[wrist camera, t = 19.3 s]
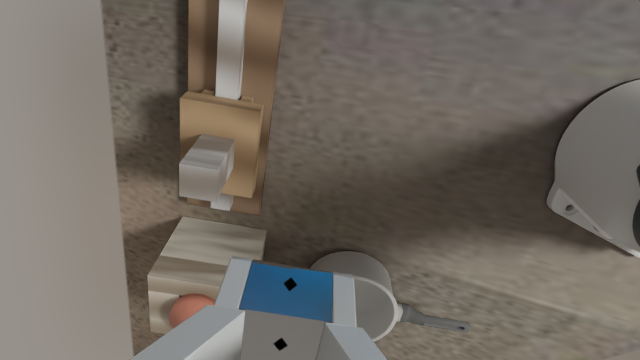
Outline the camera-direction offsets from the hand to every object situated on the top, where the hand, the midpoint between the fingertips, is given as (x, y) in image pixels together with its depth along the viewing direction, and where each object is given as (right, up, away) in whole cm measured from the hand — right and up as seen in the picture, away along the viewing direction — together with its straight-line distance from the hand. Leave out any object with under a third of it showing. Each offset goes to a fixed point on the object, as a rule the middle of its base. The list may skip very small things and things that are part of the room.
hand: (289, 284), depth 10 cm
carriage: (-9, +7, +30) cm, 32 cm away
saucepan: (+8, -11, +42) cm, 44 cm away
